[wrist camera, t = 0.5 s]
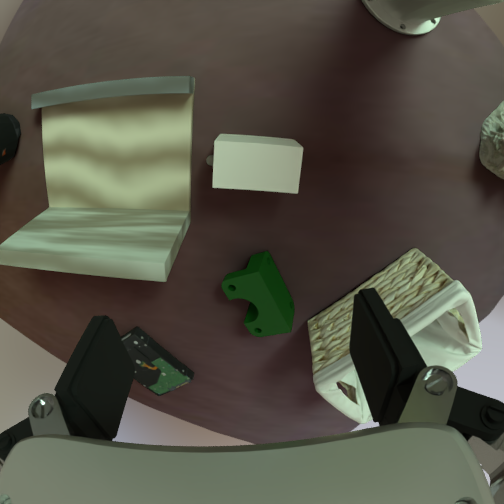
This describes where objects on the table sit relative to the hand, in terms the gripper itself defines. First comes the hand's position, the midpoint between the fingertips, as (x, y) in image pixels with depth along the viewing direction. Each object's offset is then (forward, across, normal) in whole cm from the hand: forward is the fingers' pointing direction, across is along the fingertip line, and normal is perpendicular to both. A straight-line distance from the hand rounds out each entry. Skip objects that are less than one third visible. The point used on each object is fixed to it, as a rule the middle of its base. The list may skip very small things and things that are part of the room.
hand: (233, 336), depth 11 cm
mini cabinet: (+30, -2, -2) cm, 30 cm away
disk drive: (+32, +22, +32) cm, 50 cm away
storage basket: (+30, -20, +25) cm, 44 cm away
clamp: (+31, -1, +17) cm, 35 cm away
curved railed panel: (+30, +16, -5) cm, 35 cm away
